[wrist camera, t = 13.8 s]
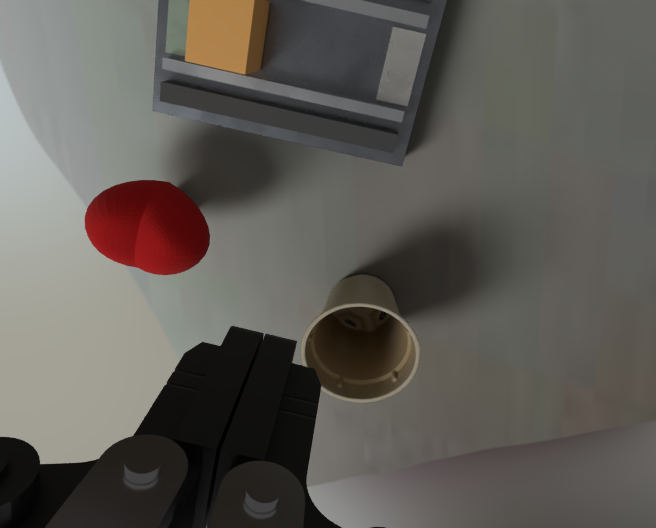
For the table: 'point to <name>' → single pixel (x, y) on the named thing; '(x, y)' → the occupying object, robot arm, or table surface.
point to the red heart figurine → (148, 227)
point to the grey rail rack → (278, 116)
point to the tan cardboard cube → (227, 34)
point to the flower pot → (361, 342)
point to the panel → (318, 66)
